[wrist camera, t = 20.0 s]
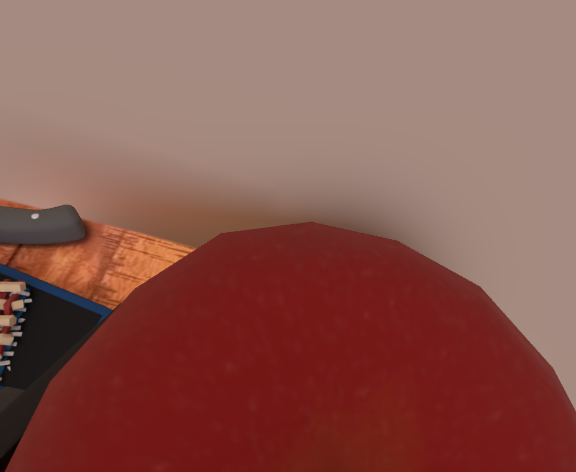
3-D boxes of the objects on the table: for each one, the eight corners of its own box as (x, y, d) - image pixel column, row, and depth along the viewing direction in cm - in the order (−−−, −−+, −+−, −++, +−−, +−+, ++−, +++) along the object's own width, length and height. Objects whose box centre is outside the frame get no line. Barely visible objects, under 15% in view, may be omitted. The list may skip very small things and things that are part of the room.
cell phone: (-38, 248, 26) (-46, 244, 25) (126, 316, 25) (123, 313, 24) (-126, 341, 22) (-138, 339, 22) (60, 424, 21) (54, 424, 21)
